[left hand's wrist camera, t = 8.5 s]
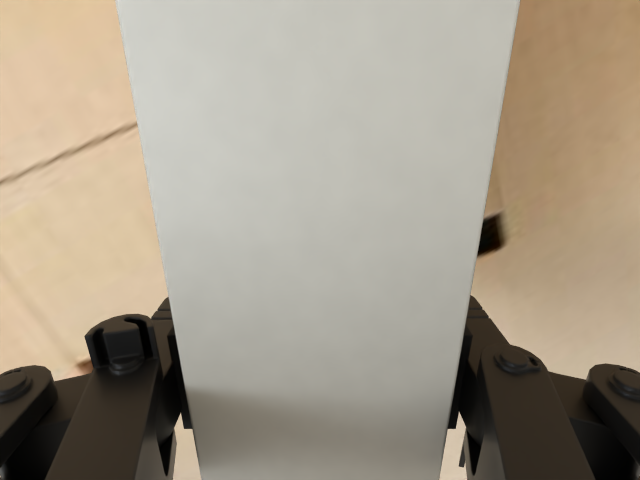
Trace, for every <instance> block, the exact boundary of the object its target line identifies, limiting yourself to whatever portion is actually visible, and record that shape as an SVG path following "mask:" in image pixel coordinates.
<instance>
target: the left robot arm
mask: <svg viewBox="0 0 640 480" xmlns="http://www.w3.org/2000/svg"><path fill="white" fill-rule="evenodd" d="M85 340H86V343H87V347H88V350H89V354H90V357H91V361H92V364H93V368H94V369H93V371H92V373H90V374H86V375H82V376H77V377H73V378H68V379H63V380H59V381H54V380H53V377H52V374H51V371H50V370H48V369H47V368H46V367H43V366H36V365H33V366H25V367H20V368H16V369H13V370H9V371H6V372H4V373H3V374H1V375H0V476H1V477H0V480H173V473H174V463H175V454H176V445H177V442H176V436H175V431H174V427H175V424H176V422H177V420H178V418H179V415H180V413H181V415H182V420H183V426H184V429H192V424H191V418H190V413H189V407H188V401H187V396H186V390H185V385H184V379H183V374H182V368H181V363H180V357H179V351H178V346H177V340H176V335H175V329H174V324H173V318H172V313H171V307H170V301H169V297H168V298H166V299H165V300H164V301H163V303H162V304H161V305H160V307H159V308H158V311H156V312H155V313H154V315H153V316H152V317H151V319H150V318H149V317H148V316H145V315H141V314H126V315H121V316H117V317H113V318H110V319H108V320H105V321H103V322H101V323H99V324H98V325H96V326H94V327H93V328H91V329H90V330H89V332H88V333H87V334H86V335H85ZM459 412H460V414H461V416H462V419H463V421H464V423H465V425H466V431H465V436H464V441H463V446H462V451H461V456H460V462H459V467H464V464H465V462H466V472H467V480H640V373H639V372H637V371H636V370H633V369H630V368H626V367H623V366H620V365H612V364H599V365H595V366H594V367H592V368H591V369H590V370H589V373H588V376H587V379H586V380H584V379H580V378H575V377H570V376H565V375H561V374H556V373H553V372H549V371H548V370H547V368H546V367H545V365H544V364H543V362H542V361H541V360H540V359H539V358H538V357H536V356H535V355H534V354H532V353H531V352H529V351H527V350H524V349H522V348H520V347H517V346H513V345H510V344H509V343H508V341H507V340H506V339H505V337H504V336H503V335H502V333H501V332H500V331H499V329H498V328H497V327H496V325H495V324H494V323H493V321H492V320H491V319H490V318H489V316H488V315H487V314H486V312H485V311H484V310H482V307H481V306H480V304H479V303H478V302H477V300H476V299H475V298H474V297H473V296H471V295H470V300H469V306H468V312H467V317H466V323H465V329H464V335H463V341H462V347H461V353H460V359H459V365H458V371H457V376H456V382H455V388H454V394H453V400H452V406H451V412H450V418H449V424H448V429H456V424H457V419H458V413H459Z"/></svg>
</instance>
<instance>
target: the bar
mask: <svg viewBox="0 0 640 480" xmlns="http://www.w3.org/2000/svg"><path fill="white" fill-rule="evenodd" d="M115 2H116V7H117V13H118V18H119V24H120V29H121V35H122V40H123V46H124V52H125V57H126V63H127V68H128V74H129V79H130V85H131V90H132V96H133V102H134V107H135V113H136V118H137V124H138V129H139V135H140V140H141V146H142V151H143V157H144V163H145V168H146V174H147V179H148V185H149V190H150V196H151V201H152V207H153V213H154V218H155V224H156V229H157V235H158V240H159V246H160V251H161V257H162V263H163V268H164V274H165V279H166V285H167V290H168V296H169V301H170V307H171V313H172V318H173V324H174V329H175V335H176V340H177V346H178V351H179V357H180V363H181V368H182V374H183V379H184V385H185V390H186V396H187V401H188V407H189V413H190V418H191V424H192V429H193V435H194V440H195V446H196V451H197V457H198V462H199V468H200V474H201V479H202V480H439V477H440V471H441V465H442V459H443V453H444V447H445V441H446V435H447V430H448V424H449V418H450V412H451V406H452V400H453V394H454V388H455V382H456V376H457V371H458V365H459V359H460V353H461V347H462V341H463V335H464V329H465V323H466V317H467V312H468V306H469V300H470V294H471V288H472V282H473V276H474V270H475V264H476V258H477V252H478V247H479V241H480V235H481V229H482V223H483V217H484V211H485V205H486V199H487V193H488V188H489V182H490V176H491V170H492V164H493V158H494V152H495V146H496V140H497V134H498V129H499V123H500V117H501V111H502V105H503V99H504V93H505V87H506V81H507V75H508V70H509V64H510V58H511V52H512V46H513V40H514V34H515V28H516V22H517V16H518V11H519V5H520V0H115Z"/></svg>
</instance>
